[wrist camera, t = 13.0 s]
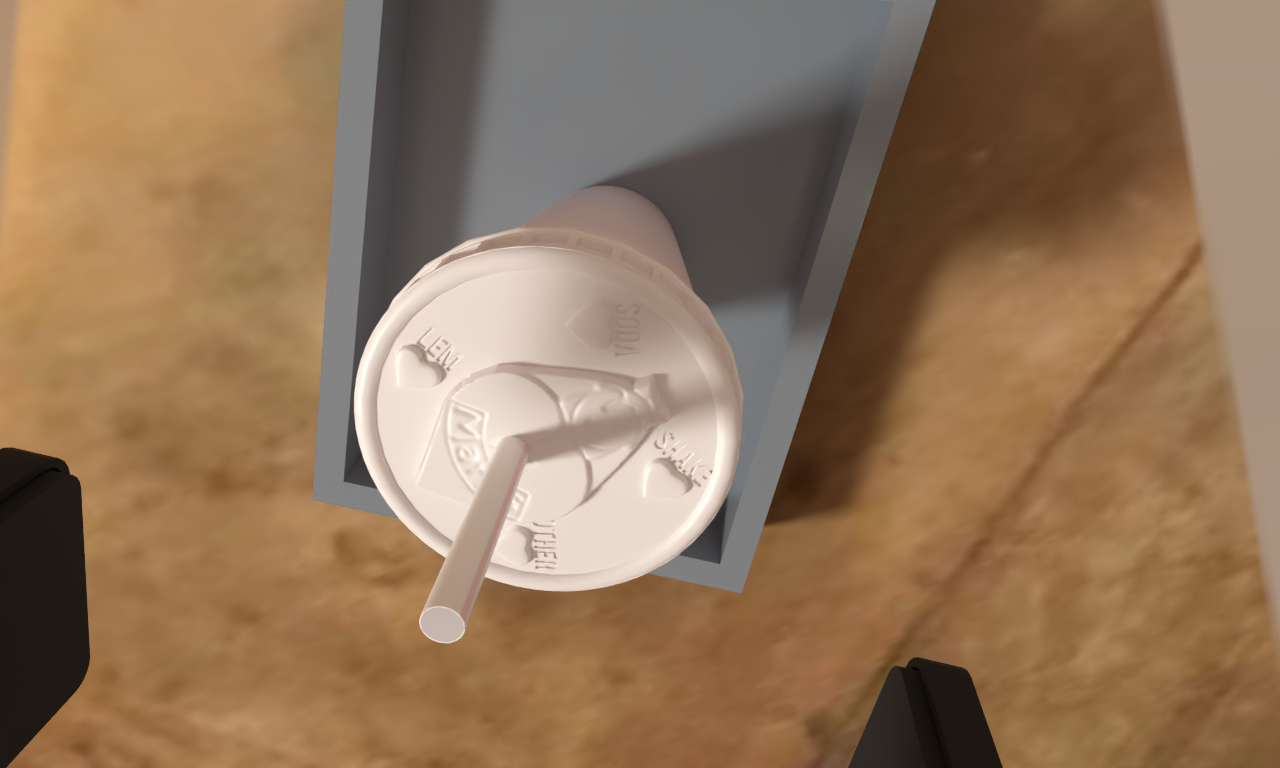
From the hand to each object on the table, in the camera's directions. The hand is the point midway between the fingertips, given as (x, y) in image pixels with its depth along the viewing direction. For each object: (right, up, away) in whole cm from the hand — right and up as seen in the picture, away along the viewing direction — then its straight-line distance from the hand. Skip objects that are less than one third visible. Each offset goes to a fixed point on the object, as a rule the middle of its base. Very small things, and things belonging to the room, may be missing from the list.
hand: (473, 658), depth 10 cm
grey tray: (+1, +7, +14) cm, 16 cm away
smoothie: (+1, +7, +13) cm, 15 cm away
